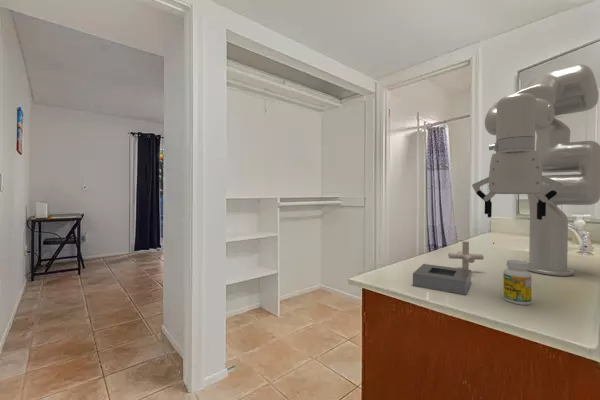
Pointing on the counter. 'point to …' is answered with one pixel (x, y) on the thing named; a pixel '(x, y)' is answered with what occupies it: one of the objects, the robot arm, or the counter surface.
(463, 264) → the pipe connector
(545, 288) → the counter surface
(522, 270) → the supplement bottle
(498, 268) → the counter surface
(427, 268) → the socket block
